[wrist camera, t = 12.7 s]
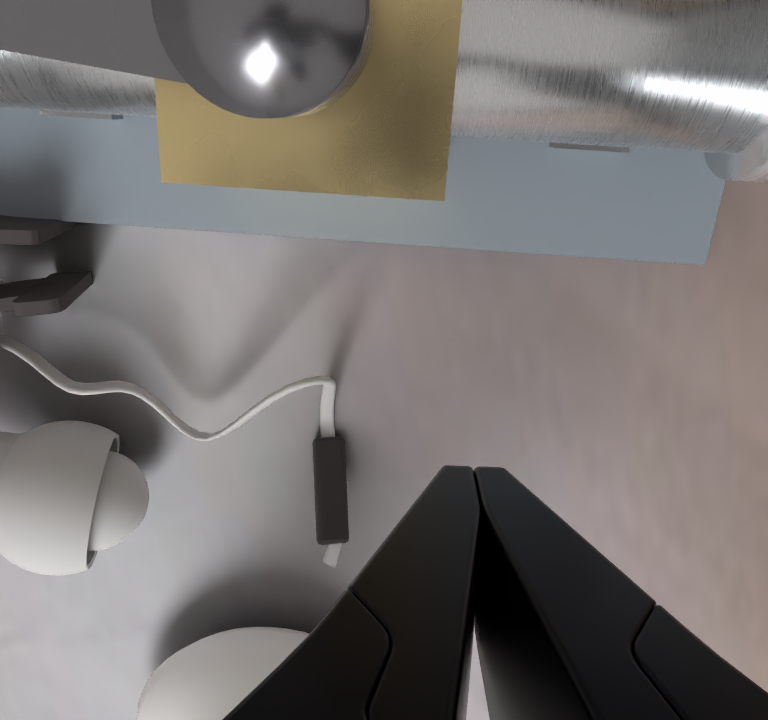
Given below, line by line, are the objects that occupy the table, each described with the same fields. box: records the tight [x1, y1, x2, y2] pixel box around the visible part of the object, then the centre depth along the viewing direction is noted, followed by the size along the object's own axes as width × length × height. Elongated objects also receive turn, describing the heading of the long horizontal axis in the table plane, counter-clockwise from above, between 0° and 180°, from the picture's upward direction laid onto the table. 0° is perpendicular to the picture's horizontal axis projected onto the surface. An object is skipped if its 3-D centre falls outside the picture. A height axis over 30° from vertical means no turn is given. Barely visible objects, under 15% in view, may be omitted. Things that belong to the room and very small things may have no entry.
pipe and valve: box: [0, 0, 768, 201], centre depth 14 cm, size 22×6×7 cm, turn 87°
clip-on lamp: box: [0, 215, 349, 575], centre depth 21 cm, size 12×6×18 cm
